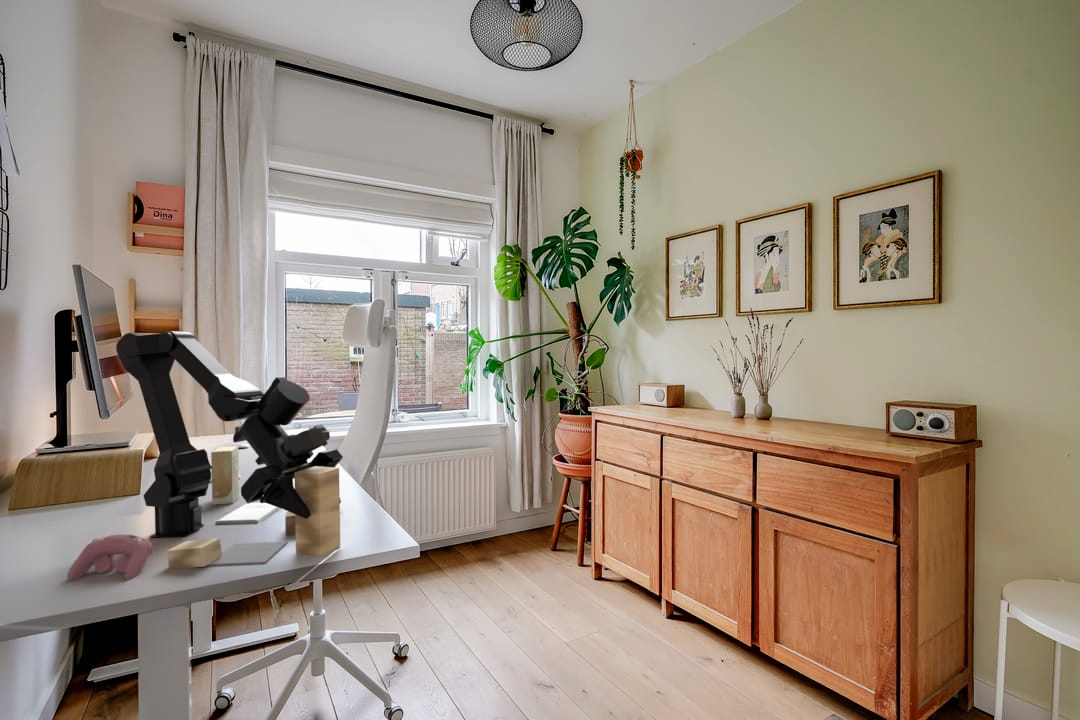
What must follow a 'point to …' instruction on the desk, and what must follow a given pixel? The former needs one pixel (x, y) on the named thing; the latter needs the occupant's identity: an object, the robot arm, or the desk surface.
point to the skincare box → (225, 475)
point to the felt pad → (249, 553)
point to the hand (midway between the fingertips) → (324, 510)
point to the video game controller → (103, 552)
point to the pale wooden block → (194, 553)
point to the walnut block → (290, 524)
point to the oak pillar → (318, 510)
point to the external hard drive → (249, 514)
